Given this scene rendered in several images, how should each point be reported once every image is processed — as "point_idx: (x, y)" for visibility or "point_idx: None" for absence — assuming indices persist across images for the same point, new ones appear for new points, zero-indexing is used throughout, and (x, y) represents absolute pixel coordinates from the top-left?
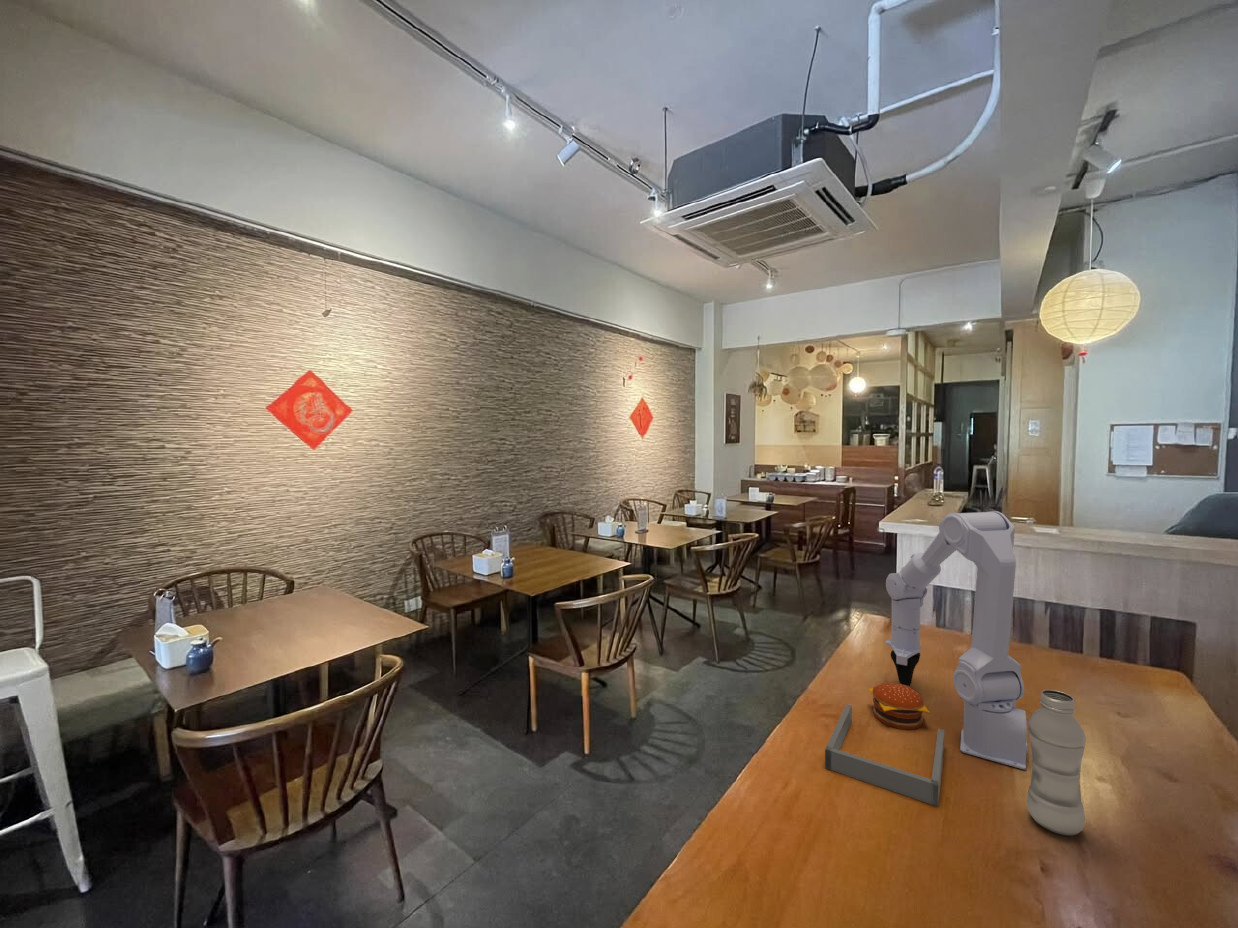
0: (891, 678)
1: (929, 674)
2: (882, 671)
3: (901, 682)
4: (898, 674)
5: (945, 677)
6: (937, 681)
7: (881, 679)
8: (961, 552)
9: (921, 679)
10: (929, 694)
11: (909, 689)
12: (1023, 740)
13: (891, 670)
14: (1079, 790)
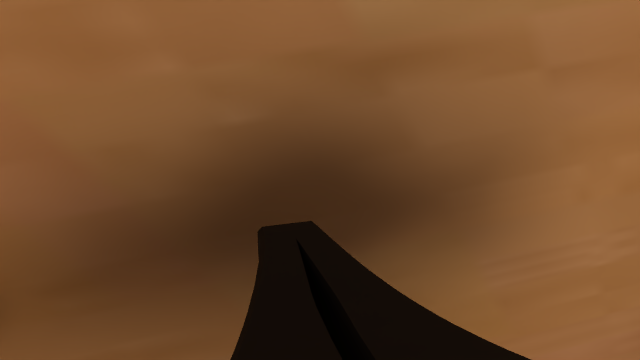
0: (442, 99)
1: (573, 274)
2: (553, 7)
3: (259, 249)
4: (255, 285)
5: (555, 333)
6: (496, 322)
7: (387, 24)
8: None
9: (495, 260)
10: None
11: None
12: None
13: (586, 73)
14: None
